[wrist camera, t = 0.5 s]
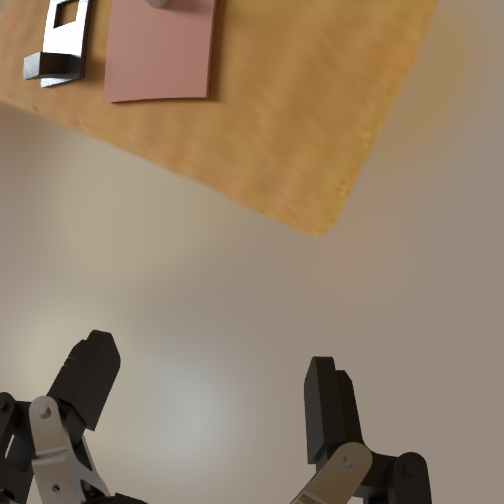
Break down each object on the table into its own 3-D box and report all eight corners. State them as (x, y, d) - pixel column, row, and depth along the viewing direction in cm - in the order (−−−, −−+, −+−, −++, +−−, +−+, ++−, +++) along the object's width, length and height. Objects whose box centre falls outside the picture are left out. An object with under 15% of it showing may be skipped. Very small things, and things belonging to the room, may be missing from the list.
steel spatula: (55, 0, 21) (25, -7, 14) (95, -15, 21) (66, -28, 14) (45, 87, 28) (12, 91, 22) (84, 77, 28) (50, 78, 22)
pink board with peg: (122, -19, 21) (92, -36, 14) (221, -32, 21) (209, -61, 14) (109, 102, 30) (74, 106, 23) (208, 97, 30) (191, 96, 23)
